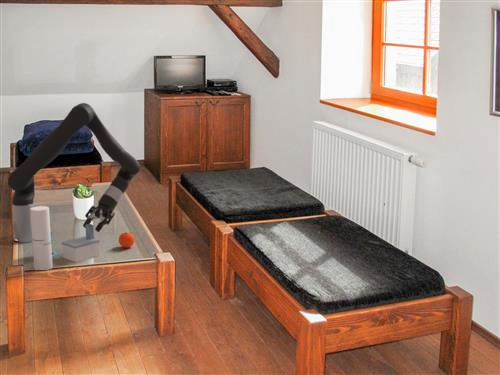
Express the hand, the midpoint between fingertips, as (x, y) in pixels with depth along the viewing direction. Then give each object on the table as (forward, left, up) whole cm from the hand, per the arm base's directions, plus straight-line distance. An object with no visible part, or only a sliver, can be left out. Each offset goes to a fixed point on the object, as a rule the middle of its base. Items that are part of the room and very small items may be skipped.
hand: (90, 229), depth 321 cm
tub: (-4, -3, -11) cm, 12 cm away
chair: (-20, +1, -11) cm, 23 cm away
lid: (-4, -3, -6) cm, 9 cm away
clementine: (+16, +7, -11) cm, 20 cm away
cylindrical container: (-19, -15, -11) cm, 27 cm away
